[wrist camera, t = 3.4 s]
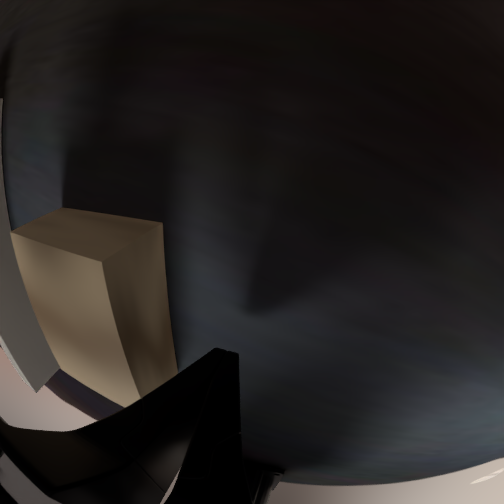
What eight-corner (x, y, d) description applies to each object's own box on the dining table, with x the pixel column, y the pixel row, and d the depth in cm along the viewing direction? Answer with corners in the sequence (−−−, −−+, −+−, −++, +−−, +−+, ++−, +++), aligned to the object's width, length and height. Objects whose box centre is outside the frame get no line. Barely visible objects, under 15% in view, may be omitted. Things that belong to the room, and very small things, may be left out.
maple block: (180, 368, 13) (149, 419, 10) (95, 333, 14) (61, 369, 11) (166, 220, 9) (101, 261, 6) (66, 205, 11) (9, 232, 7)
